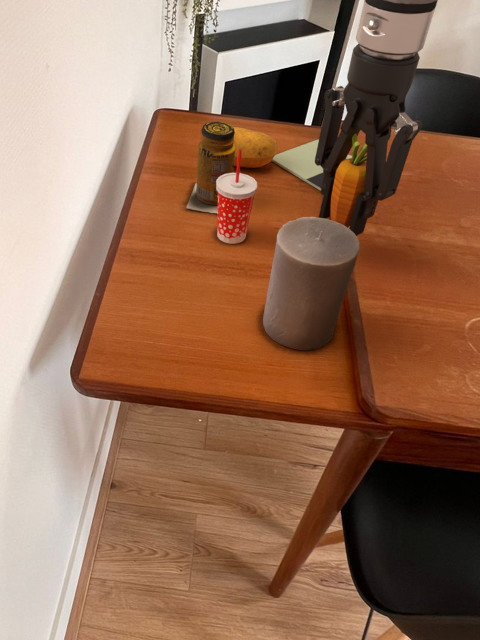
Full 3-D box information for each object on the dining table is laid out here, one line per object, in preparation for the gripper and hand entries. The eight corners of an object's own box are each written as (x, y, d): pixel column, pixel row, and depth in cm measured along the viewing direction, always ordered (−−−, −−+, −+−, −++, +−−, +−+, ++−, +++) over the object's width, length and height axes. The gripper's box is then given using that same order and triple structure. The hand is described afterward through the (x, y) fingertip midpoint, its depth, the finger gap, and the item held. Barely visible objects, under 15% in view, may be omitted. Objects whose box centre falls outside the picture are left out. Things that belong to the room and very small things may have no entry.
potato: (266, 181, 96) (271, 145, 90) (196, 164, 99) (198, 128, 94) (279, 163, 100) (284, 127, 95) (212, 146, 103) (214, 111, 98)
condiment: (235, 189, 93) (243, 121, 84) (228, 215, 88) (235, 145, 79) (195, 184, 94) (198, 115, 85) (185, 209, 88) (187, 139, 79)
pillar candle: (345, 343, 69) (380, 248, 58) (277, 357, 67) (298, 261, 56) (315, 296, 75) (340, 201, 64) (251, 307, 73) (265, 211, 62)
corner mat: (380, 174, 99) (381, 171, 99) (330, 196, 93) (330, 193, 93) (319, 140, 107) (319, 138, 107) (268, 159, 101) (269, 156, 101)
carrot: (319, 224, 80) (342, 125, 69) (351, 226, 80) (380, 127, 69) (323, 244, 77) (347, 143, 66) (357, 245, 77) (387, 145, 66)
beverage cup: (226, 219, 87) (233, 135, 76) (257, 233, 85) (270, 148, 74) (204, 236, 84) (209, 151, 73) (237, 251, 81) (247, 165, 71)
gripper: (307, 31, 63) (279, 205, 80) (433, 81, 54) (371, 265, 71) (349, 20, 66) (314, 190, 84) (475, 66, 57) (405, 246, 74)
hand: (340, 225), depth 77 cm, fingers closed on carrot, 5 cm apart
